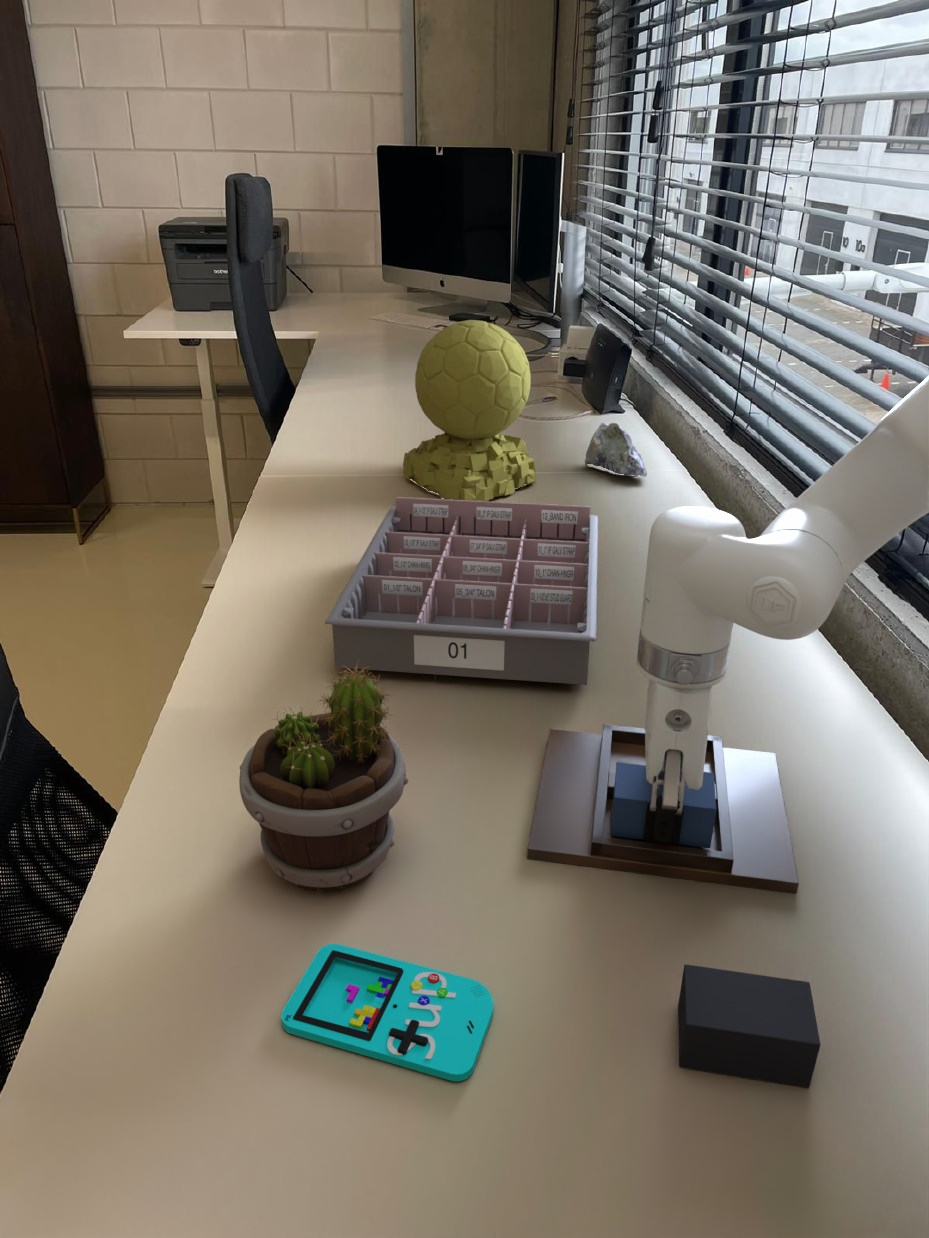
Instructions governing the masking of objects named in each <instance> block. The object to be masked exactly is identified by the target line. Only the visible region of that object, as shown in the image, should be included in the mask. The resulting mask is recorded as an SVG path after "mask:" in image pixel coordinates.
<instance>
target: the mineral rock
mask: <svg viewBox="0 0 929 1238" xmlns="http://www.w3.org/2000/svg"><path fill="white" fill-rule="evenodd" d="M585 463H586V464H593V465H595V466H601V467H603V468H606V469H608V470H611V471H613V472H615V473H618V474H624V475H625V476H627V475H640V476H639V477H644V478H645V477H648V470H647V468H646V466H645V463H644V458H643V457H642V455H641V453H639V451H638V450H637V449H636V446H635V445H634V443H633V441H632V438H631V436H630V435H629V434H628V432H627V431H626V430H625V429H624V428H623V427H621V426H620V424H619V423H618V422H610V423H609V424H608V423H605V422H602V423H601V424H599V426H598V428H597V429H596V430H595V431H594V433H593V435H592V437H591V439H590V441H589V444H588V447H587V450H586V452H585V459H584V464H585Z"/></svg>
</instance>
